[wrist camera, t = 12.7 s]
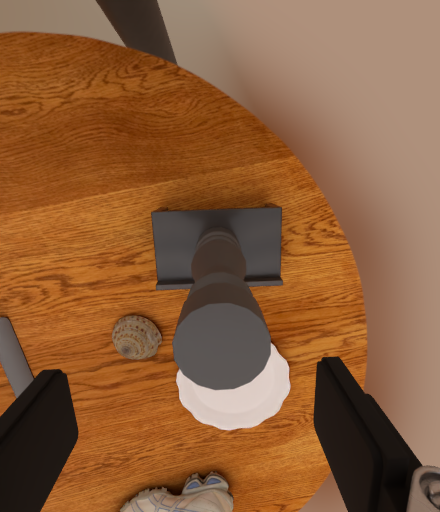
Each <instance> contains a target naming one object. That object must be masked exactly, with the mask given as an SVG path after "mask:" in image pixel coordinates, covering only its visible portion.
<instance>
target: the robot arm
mask: <svg viewBox="0 0 440 512" xmlns="http://www.w3.org/2000/svg"><path fill="white" fill-rule="evenodd" d="M314 427H315V431H316V433H317V436H318V438H319V441H320V443H321V446H322V448H323V451H324V453H325V456H326V458H327V461H328V463H329V466H330V468H331V471H332V473H333V475H334V478H335V480H336V483H337V485H338V488H339V490H340V493H341V495H342V498H343V500H344V503H345V505H346V508H347V510H348V512H440V468H439V467H435V466H422V464H421V463H420V461H419V460H418V459H417V457H416V456H415V455H414V453H413V452H412V450H411V449H410V448H409V446H408V445H407V444H406V442H405V441H404V439H403V438H402V437H401V435H400V434H399V433H398V431H397V430H396V429H395V427H394V426H393V424H392V423H391V422H390V420H389V419H388V417H387V416H386V415H385V413H384V412H383V411H382V409H381V408H380V406H379V405H378V404H377V402H376V401H375V400H374V398H373V397H372V396H371V395H369V394H365V393H364V392H363V390H362V389H361V387H360V386H359V384H358V383H357V382H356V380H355V379H354V377H353V376H352V374H351V373H350V372H349V370H348V369H347V367H346V366H345V364H344V363H343V362H342V360H341V359H340V358H339V357H323V358H322V360H321V361H320V362H317V371H316V387H315V403H314ZM77 439H78V427H77V422H76V417H75V412H74V407H73V403H72V398H71V393H70V388H69V384H68V379H67V375H66V374H65V373H63V372H62V371H61V370H60V369H52V370H42V371H41V372H40V373H39V374H38V375H37V376H36V378H35V379H34V380H33V381H32V382H31V383H30V384H29V385H28V387H27V388H26V389H25V390H24V391H23V392H22V393H21V394H20V395H19V397H18V398H17V399H16V400H15V401H14V402H13V403H12V404H11V405H10V407H9V408H8V409H7V410H6V411H5V412H4V413H3V414H2V416H1V417H0V512H40V511H41V509H42V507H43V505H44V503H45V502H46V500H47V498H48V496H49V494H50V492H51V490H52V488H53V486H54V484H55V482H56V480H57V479H58V477H59V475H60V473H61V471H62V469H63V467H64V465H65V463H66V461H67V459H68V457H69V456H70V454H71V452H72V450H73V448H74V446H75V444H76V442H77Z"/></svg>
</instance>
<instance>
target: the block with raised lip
mask: <svg viewBox="0 0 440 512" xmlns="http://www.w3.org/2000/svg"><path fill="white" fill-rule="evenodd" d="M151 215H152V226H153V237H154V247H155V258H156V268H157V279H158V282H157V284H156V290H175V289H191V286H192V285H193V284H194V283H195V280H194V279H193V277H192V272H191V263H192V260H193V257H194V254H195V248H196V245H197V242H198V239H199V237H200V236H201V235H202V234H203V233H204V231H206V230H208V229H210V228H213V227H223V228H225V229H228V230H230V231H231V232H232V233H233V234H235V235H236V237H237V239H238V242H239V244H240V246H241V252H242V254H243V256H244V258H245V260H246V275H245V277H244V281H245V282H246V283H247V284H248V287H254V286H280V285H283V280H282V279H281V277H280V272H281V225H282V207H279V206H277V205H274V204H272V203H271V204H265V207H254V208H226V209H198V210H170V211H168V207H161V208H159V209H157V210H155V211H153V212H151Z"/></svg>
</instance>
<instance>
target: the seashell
mask: <svg viewBox="0 0 440 512" xmlns="http://www.w3.org/2000/svg"><path fill="white" fill-rule="evenodd" d="M112 339H113V343H114V346H115V348H116V349H117V351H118V352H119V353H120V354H121V355H122V356H124V357H126V358H129V359H142V358H148V357H151V356H153V355H155V354H156V352H157V348H158V345H159V344H161V342H162V337H161V334H160V332H159V331H158V329H157V328H156V326H155V325H154V324H153V323H152V322H151V321H149V320H148V319H146V318H144V317H141V316H126V317H123V318H121V319H120V320H119V321H118V322H117V323H116V324H115V327H114V329H113V333H112Z"/></svg>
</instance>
